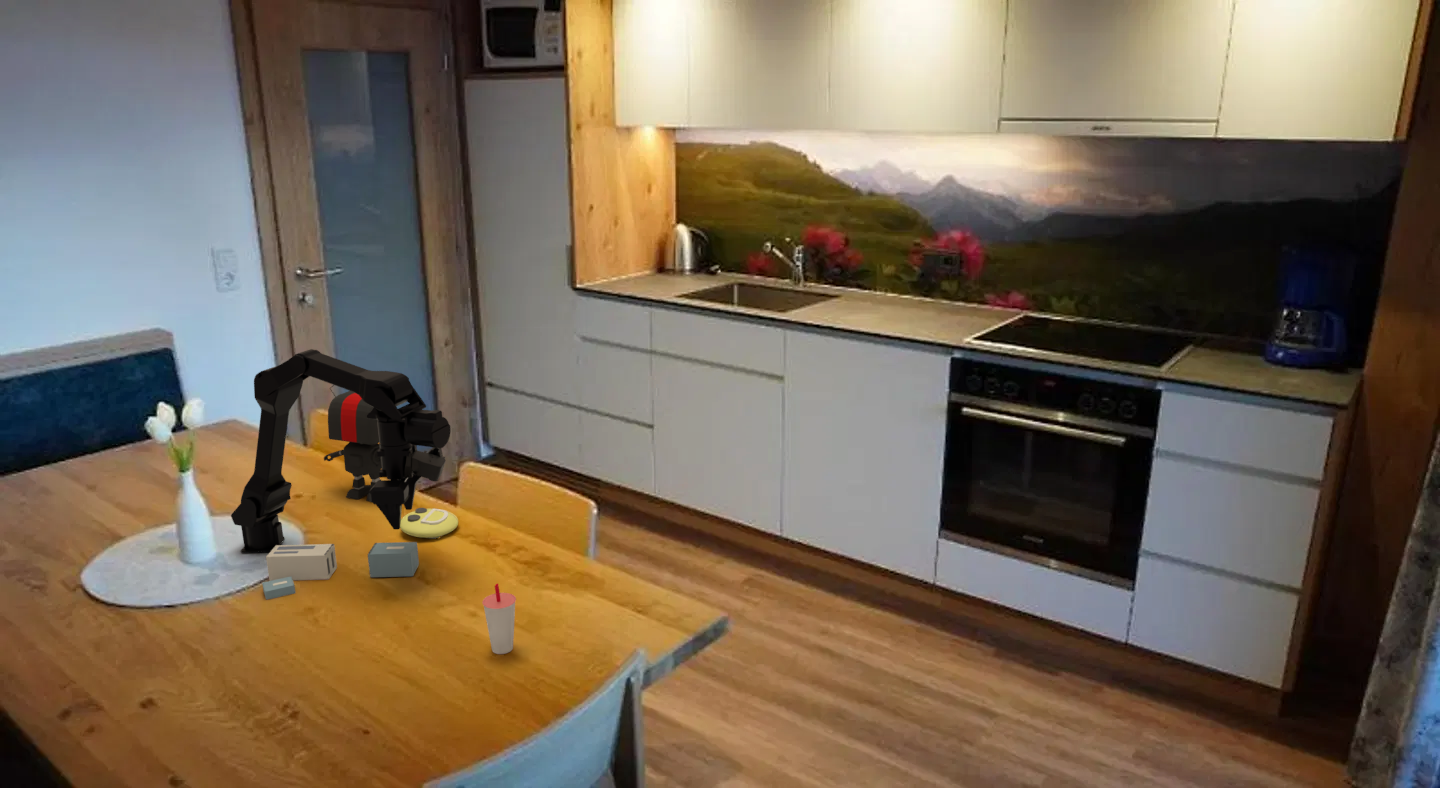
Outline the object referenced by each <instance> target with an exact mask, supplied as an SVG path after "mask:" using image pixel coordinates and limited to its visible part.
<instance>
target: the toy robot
mask: <svg viewBox="0 0 1440 788" xmlns="http://www.w3.org/2000/svg"><path fill="white" fill-rule="evenodd" d="M334 386H335V385H333V384H332V386H331V387H329V390H330V392H331V393H332V394H333V396H334V398H333V399H332V400H331V402H330V403H329V406H328V410H327V428H328V429H327V430H328V439H329V440H333V441H334V440H335V441H341V442H348V443H347V444H346V445H345V446H344V447H343V449H341V450H336V451H334V452H330V453H328V454H326V455H324V457H323V461H324V462H325V461H327V462H331V461H333V460H334V459H335V458H338V457H341V456H343V461H344V471H345V472H347V473H349V474H352V477H354V478H353V479H352V488H350V489H349V490H347V492H346V496H345V498H347V499H352V500H361V499H362V498H364V497H365V496H366V499H365V501H366V502H370V500H369V491H370V490H371V488H372V487H373V486H374V485H375V484H376V483H377V481H378V480H382V479H381V477H380V476H379V472H380V471H381V469H382V463H381V456H380V457H377V451H378V450H379V448H380V444H379V433H378V424H377V419H369V418H367V417H366V415H367V414H368V413H369V412H370V411H371V410H372V409H373V407H372V406H370V405H369V404H367V403H365V402H364V401H363V400H362V398H361V397H360V396H359V395H358V394H356V393H354V392H352V391H349V390H347V391H345V392H343V393H340V394H338V395H335V393H334V392H333V390H332V388H333V387H334ZM329 456H330V458H329ZM364 476H369V479H370V480H371V481H370V485H369V484H367V485H366V480H365V477H364Z"/></svg>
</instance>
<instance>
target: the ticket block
mask: <svg viewBox="0 0 1440 788" xmlns="http://www.w3.org/2000/svg"><path fill="white" fill-rule="evenodd" d="M336 554H337V553H336V547H335V544H334V543H323V544H322V543H321V544H320V543H317V544H314V543H313V544H311V543H310V544H283V545H282V544H280V545H276V546H275V547H274V548H273V549H272V551H271V552H268V554H267V555H266V556H265V558H266V559H265V560H266V567H267V574H268V579H269V580H268V581H272V580H277V579H281V578H286V577H292V580H293V581H317V580H330V578H331V577H332V576H333V574H334V572H335V571H336V570H337V568H338V564H337V563H338V562H337V557H336Z"/></svg>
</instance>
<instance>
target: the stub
mask: <svg viewBox="0 0 1440 788" xmlns="http://www.w3.org/2000/svg"><path fill="white" fill-rule="evenodd" d="M367 561H368V562H367V563H368V569H369V570H368V571H369V577H370V578H393V577H396V578H397V577H399V578H400V577H414V575H415V573H416V571H417V569H418V567H419V565H420V560H419V551H418V542H417V541H406V542H405V541H404V542H403V541H399V542H374V544H373V546H372V547H371V548H370V550H369V552H368V553H367Z"/></svg>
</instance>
